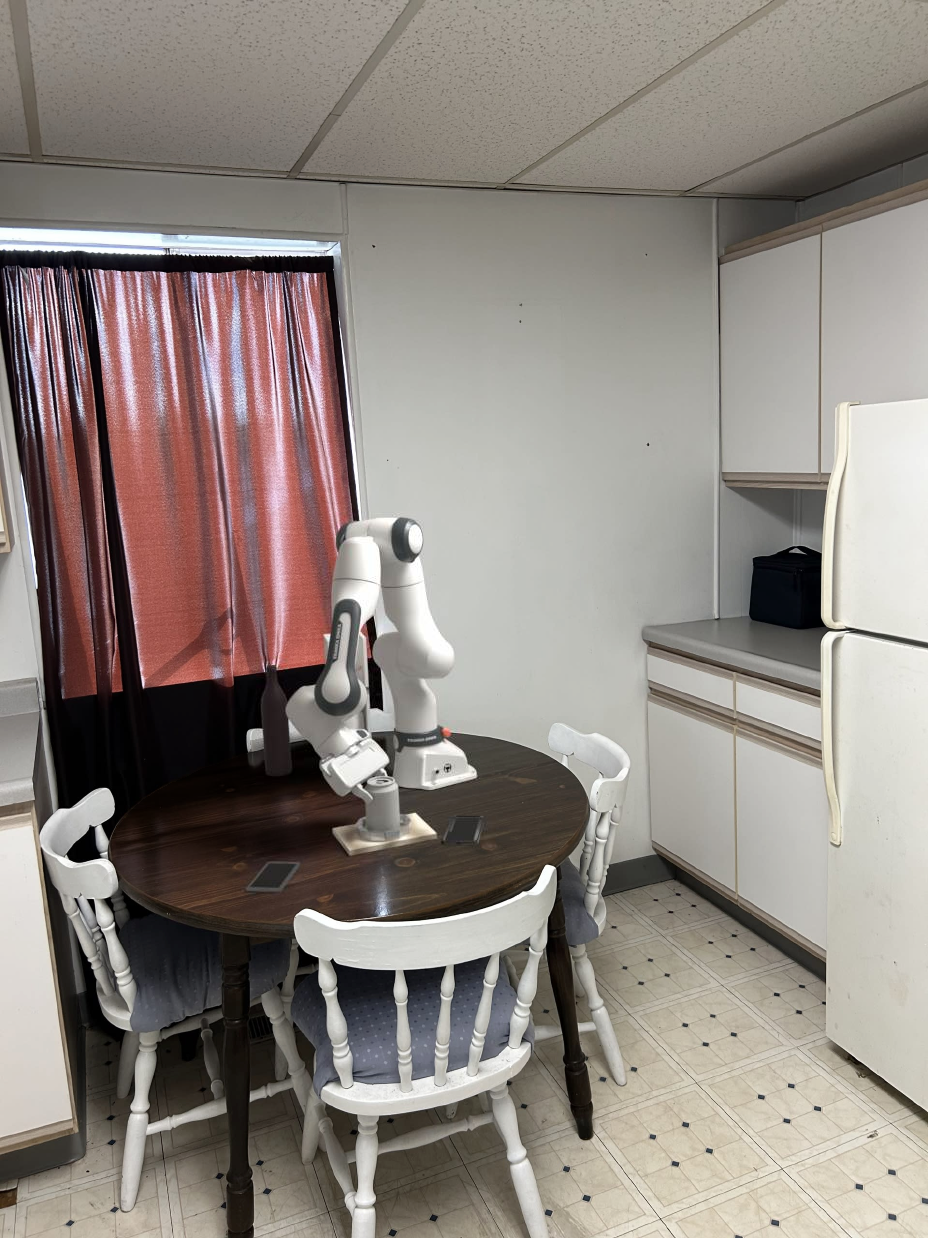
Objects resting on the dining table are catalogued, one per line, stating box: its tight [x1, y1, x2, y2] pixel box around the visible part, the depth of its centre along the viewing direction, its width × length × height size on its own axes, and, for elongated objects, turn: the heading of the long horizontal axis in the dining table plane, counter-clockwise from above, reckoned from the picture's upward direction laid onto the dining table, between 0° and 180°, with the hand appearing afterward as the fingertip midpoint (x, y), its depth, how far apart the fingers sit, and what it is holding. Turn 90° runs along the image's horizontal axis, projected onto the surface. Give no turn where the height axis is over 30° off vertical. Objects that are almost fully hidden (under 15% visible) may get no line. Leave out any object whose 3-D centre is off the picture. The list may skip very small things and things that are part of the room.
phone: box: [442, 815, 486, 846], centre depth 214 cm, size 8×1×15 cm
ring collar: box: [355, 812, 411, 842], centre depth 213 cm, size 12×12×2 cm
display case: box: [323, 631, 373, 740], centre depth 269 cm, size 11×11×35 cm
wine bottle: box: [260, 664, 293, 777], centre depth 257 cm, size 7×7×30 cm
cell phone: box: [245, 860, 301, 894], centre depth 194 cm, size 7×14×1 cm, turn 172°
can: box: [363, 775, 401, 831], centre depth 212 cm, size 8×8×12 cm
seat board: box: [332, 812, 438, 856], centre depth 213 cm, size 20×14×1 cm
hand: (380, 794), depth 211 cm, fingers closed on can, 7 cm apart
